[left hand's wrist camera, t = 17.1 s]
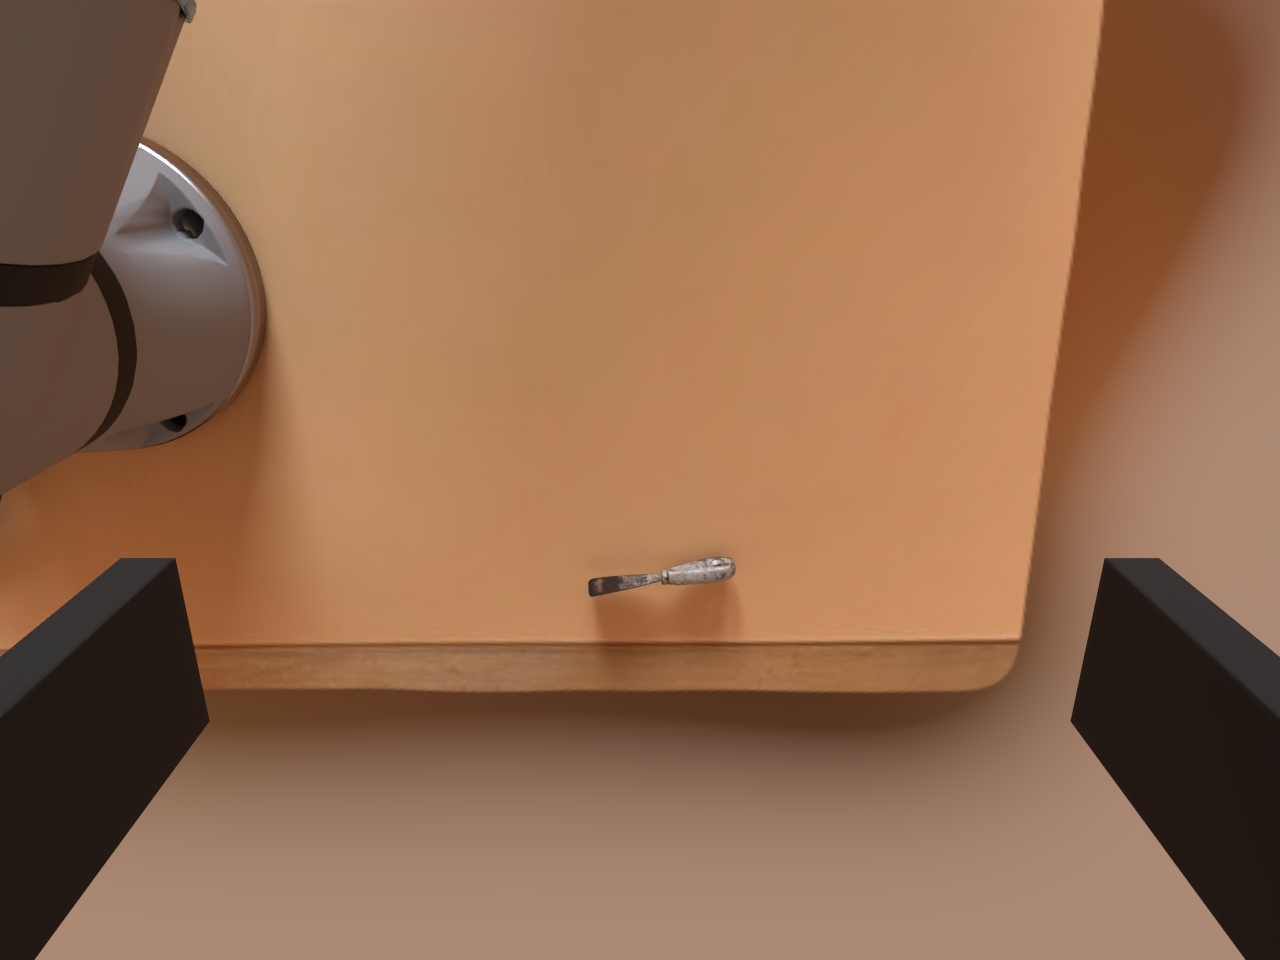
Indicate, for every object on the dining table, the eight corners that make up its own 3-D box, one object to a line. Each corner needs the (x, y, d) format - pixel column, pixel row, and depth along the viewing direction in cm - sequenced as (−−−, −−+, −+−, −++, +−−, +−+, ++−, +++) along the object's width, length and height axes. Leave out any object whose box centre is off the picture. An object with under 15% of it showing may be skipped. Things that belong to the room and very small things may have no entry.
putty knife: (735, 568, 49) (738, 583, 47) (591, 591, 49) (589, 606, 48) (732, 552, 48) (735, 566, 47) (587, 574, 49) (586, 589, 47)
